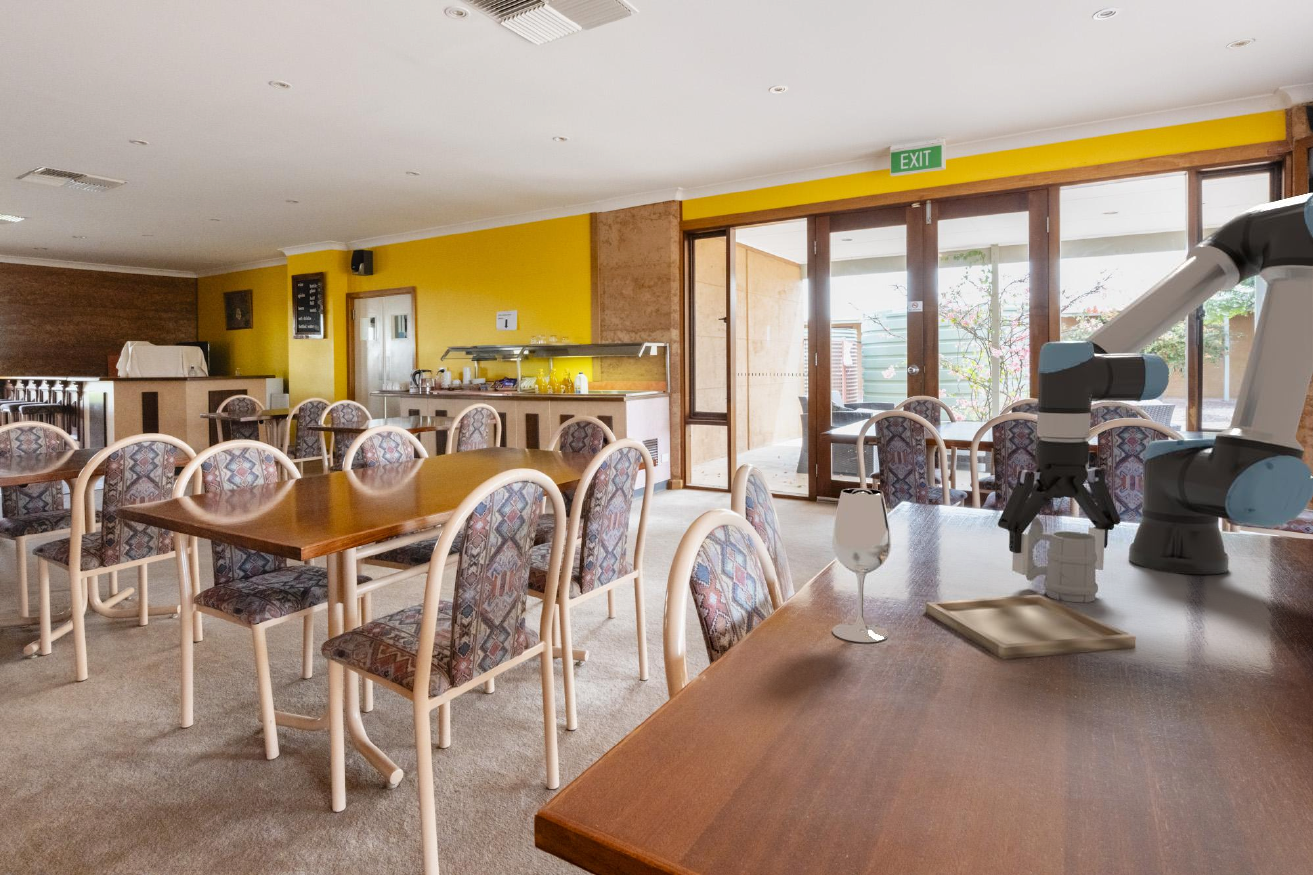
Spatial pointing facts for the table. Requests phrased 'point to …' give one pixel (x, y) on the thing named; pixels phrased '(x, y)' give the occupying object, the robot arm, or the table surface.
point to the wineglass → (861, 550)
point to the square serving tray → (1028, 626)
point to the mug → (1064, 563)
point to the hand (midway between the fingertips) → (1057, 570)
